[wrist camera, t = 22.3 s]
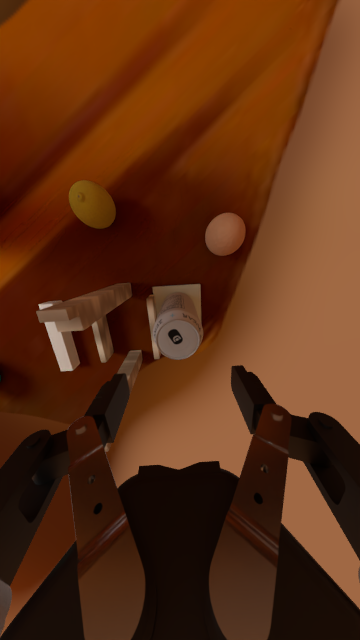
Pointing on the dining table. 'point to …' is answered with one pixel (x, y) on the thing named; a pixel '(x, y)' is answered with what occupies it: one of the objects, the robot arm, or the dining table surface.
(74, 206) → the lemon
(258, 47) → the dining table surface
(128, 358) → the cradle
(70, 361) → the bar
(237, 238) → the egg
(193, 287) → the coaster
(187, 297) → the energy drink can
